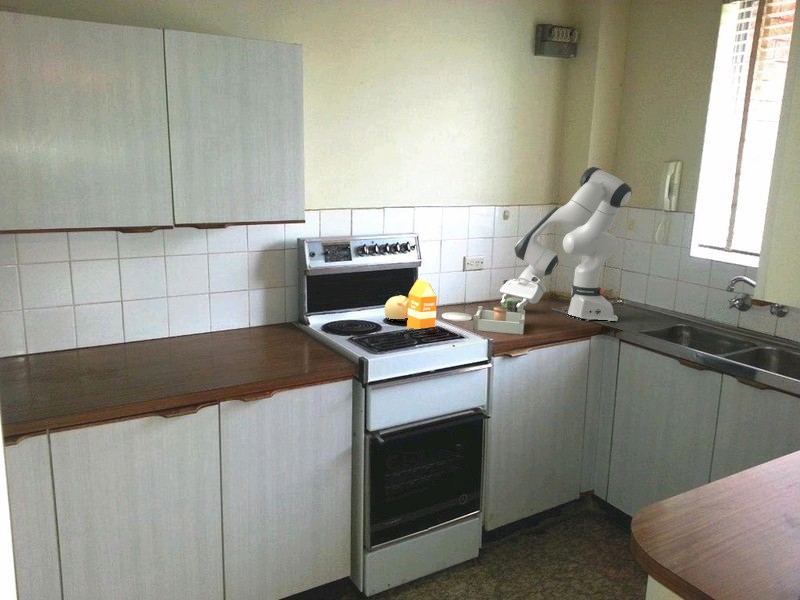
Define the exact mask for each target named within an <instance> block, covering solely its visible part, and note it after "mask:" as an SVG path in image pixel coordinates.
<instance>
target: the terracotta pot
mask: <svg viewBox="0 0 800 600" xmlns="http://www.w3.org/2000/svg"><path fill="white" fill-rule="evenodd" d="M493 311H494V320H495V321H506V312H507V311H508V308H505V307H502V306H494V307H493Z"/></svg>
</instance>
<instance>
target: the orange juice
mask: <svg viewBox="0 0 800 600" xmlns="http://www.w3.org/2000/svg"><path fill="white" fill-rule="evenodd" d="M408 298H409V300H408V320H407V321H406V324H407V325H406V329H407V328H414V329H421V328H428V327H435V328H436V318H437V301H438V296H437V295H436V292H435V290H434V289H433V287H432V285H431V283H430V282H428V281H425V280H421V279H416V281H415V282H414V284H413V286H412V287H411V289H410V291H409V293H408Z"/></svg>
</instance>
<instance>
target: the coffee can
mask: <svg viewBox="0 0 800 600" xmlns="http://www.w3.org/2000/svg"><path fill="white" fill-rule="evenodd" d="M508 280H509V279H505V280H503V285H504V284H505V283H506V282H507V281H508ZM503 285H502V286H503ZM501 296H502V295H501ZM501 298H503V296H502V297H501ZM506 302H507V303H506V304H505V305H502V304H501V307H505V308H508V311H507V312H512V313H521V310H524V306H523V307H522V308H521V309H518V308H517V307H516V306H517V305H518V303H521V302H522V301H520V300H516V299H512V298H508V299H506Z"/></svg>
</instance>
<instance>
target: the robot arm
mask: <svg viewBox="0 0 800 600" xmlns="http://www.w3.org/2000/svg"><path fill="white" fill-rule="evenodd" d="M579 185H580V187H579V189H578V190H577V191H576V192H575V193H574V194H573V195H572V197H571V198H570V200H569V201H568V202H567V203H566V204H564V205H563V206H561V207H558V206H556V207H555V208H553V209H552V210H551V211H549V212H548V213H547V214H546V215H545V216H544V217H543V218H542V219H541V220H540V221H539V222H538V223H537V224H536V225H535V226H534V227H533V228H532V229H531V230H529V232H528V233H527V234H525V236H523V237H521V238H520V239H519V241H517V242H516V245H515V247H514V253H515V256H516V258H518V259H519V260H522V261H524V262H526V263H527V264H528V266H527V267H526V268H525V269H524V270H523V272H522V273H521V274H520V275H519V276H518V278H510V279H507V280H508V281H507V282H506V283H505V284H504V285H502V286H501V287H500V288H499V293H500V295H501V296H503V298H502V297H501V298H502V299H501V300H500V304H501V306H502V305H505V304H506V303H507V302H506V299H508V298H512V299H516V300H520V301H522V302H521V303H518V305H517V306H516V307H517V308H518V309H521V308H522V307H523V308H524V307H525V306H527V305H528V304H534V305H535V304H537V303H539V301H540V299H542V297H543V295H544V293H546V291H547V288H546V286H545V284H544V282H543V279H544V278H545V277H546V276H550V275H551V274H552V273H553V271H554V270H555V269H556V268H557V266H558V265H559V256H558V255H557V254H556V253H555V252H554V251H552V250H551V249H549V248H548V247H546V246H545V245H543V244H542V243H541V242H540V241H538V240H537V239H538V238H539V237H540V236H541V235H542V234H543V233H544V231H545V230H547V229H548V228H549V227H550V226H551V225H563V226H566V227H572V228H575V229H573V230H572V231H570V232H568V233H567V234H566V235H564V237H563V240H562V248H563V251H564V252H565V254H568V255H572V256H576V257H585V259H584V261H583V262H581V263H580V264H578V265H577V266H576V267H575V270H574V276H573V277H574V278H573V283H572V286H571V293H570V296H571V299H570V303H569V307H568V310H567V312H568V314H569V315H572V316H576V317H580V318H587V319H598V320H608V321H607V322H610V321H616V322H618V320H619V319H618V316H617V315H616V314H614V308H613V305H612V303H611V302H610V301H608V299H606V298H605V297H604V296H603V295H604V294H605V290H604V289H602V287H599V283H600V276H601V271H602V268H603V266H604V264H605V263H606V261H607V259H609V258H610V257H611V256H612V255H613V254H614V253H615V252H616V250H617V249H618V240H617V237H616V235H615V234H613V233H610V232H606V231H608V230H610V229H611V228H612V226H613V225H614V222H615V220H616V218H617V215H618V213H619V211H620V209H621V208H623V207H625V206H626V205H627V204H628V202H629V201H630V199H631V198H632V194H633V191H632V187H631V186H630V185H629V184H628V183H626V182H624V181H622V180H621V179H620V178H618V177H617V176H615V175H613V174H611V173H608V172H607V171H605V170H602V169H601V168H600V167H596V166H591V167H589V168H587V169H585V171H584V172H583V173H582V175H581V177H580V183H579Z"/></svg>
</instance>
